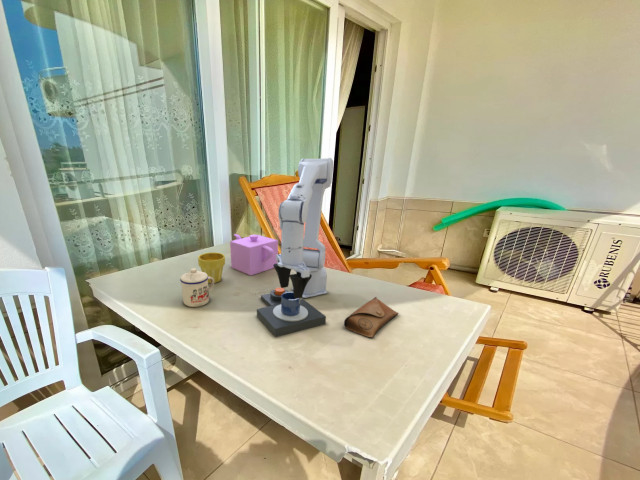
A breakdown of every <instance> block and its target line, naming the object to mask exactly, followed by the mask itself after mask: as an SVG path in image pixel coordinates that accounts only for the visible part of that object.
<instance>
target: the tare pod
mask: <svg viewBox="0 0 640 480" xmlns="http://www.w3.org/2000/svg"><path fill="white" fill-rule="evenodd" d="M285 292H290V290H288V289H285ZM260 299H261V301H262V302H263V303H264V304H266V305H267V307H269V306H273V305H278V304H281V295H275V289H272V290H270V293H265V294H260Z"/></svg>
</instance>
